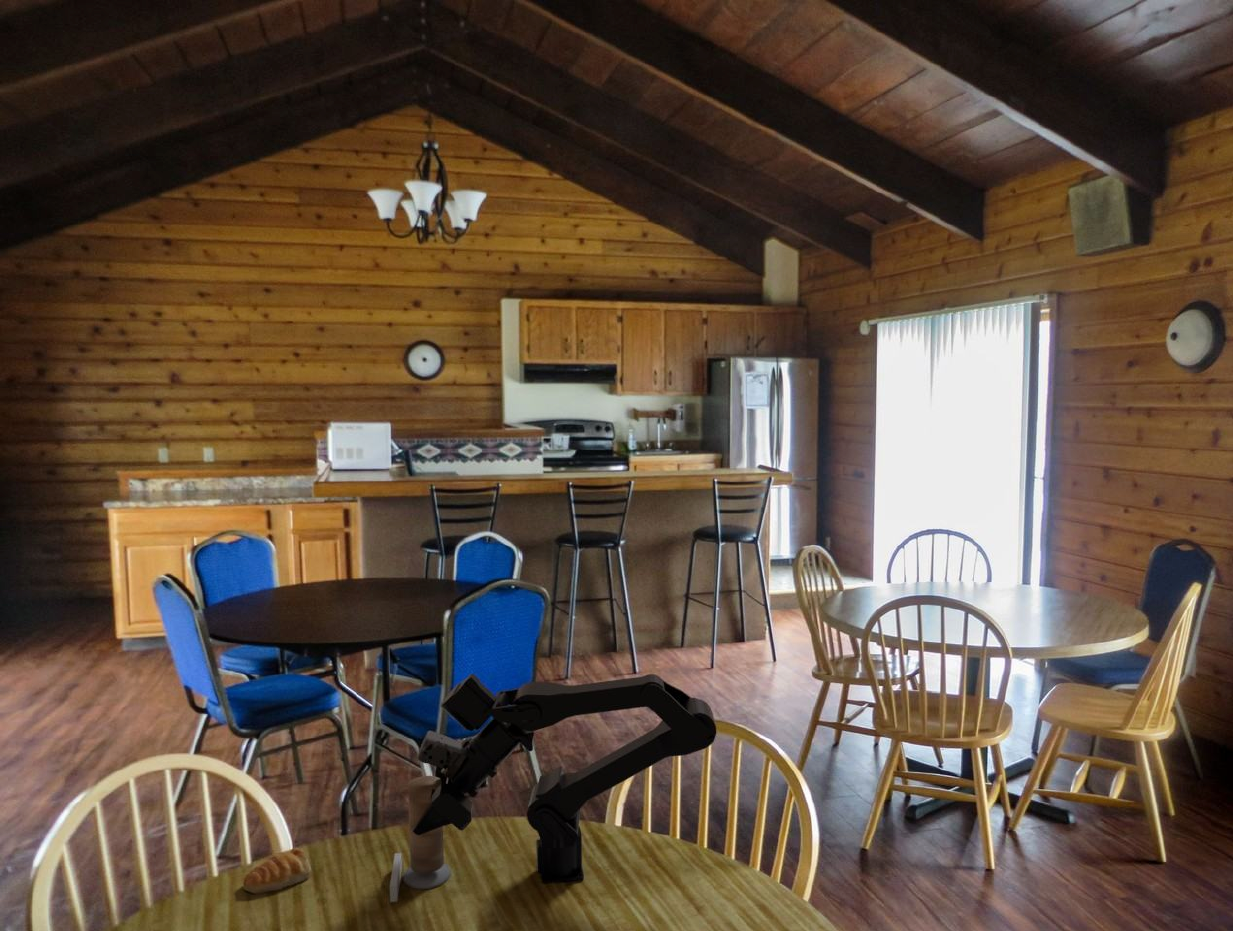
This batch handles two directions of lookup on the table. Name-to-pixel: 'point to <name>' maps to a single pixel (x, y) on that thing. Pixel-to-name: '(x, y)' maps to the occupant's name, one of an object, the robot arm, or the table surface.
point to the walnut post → (430, 844)
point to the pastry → (278, 872)
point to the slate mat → (426, 878)
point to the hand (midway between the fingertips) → (416, 824)
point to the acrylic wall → (395, 877)
